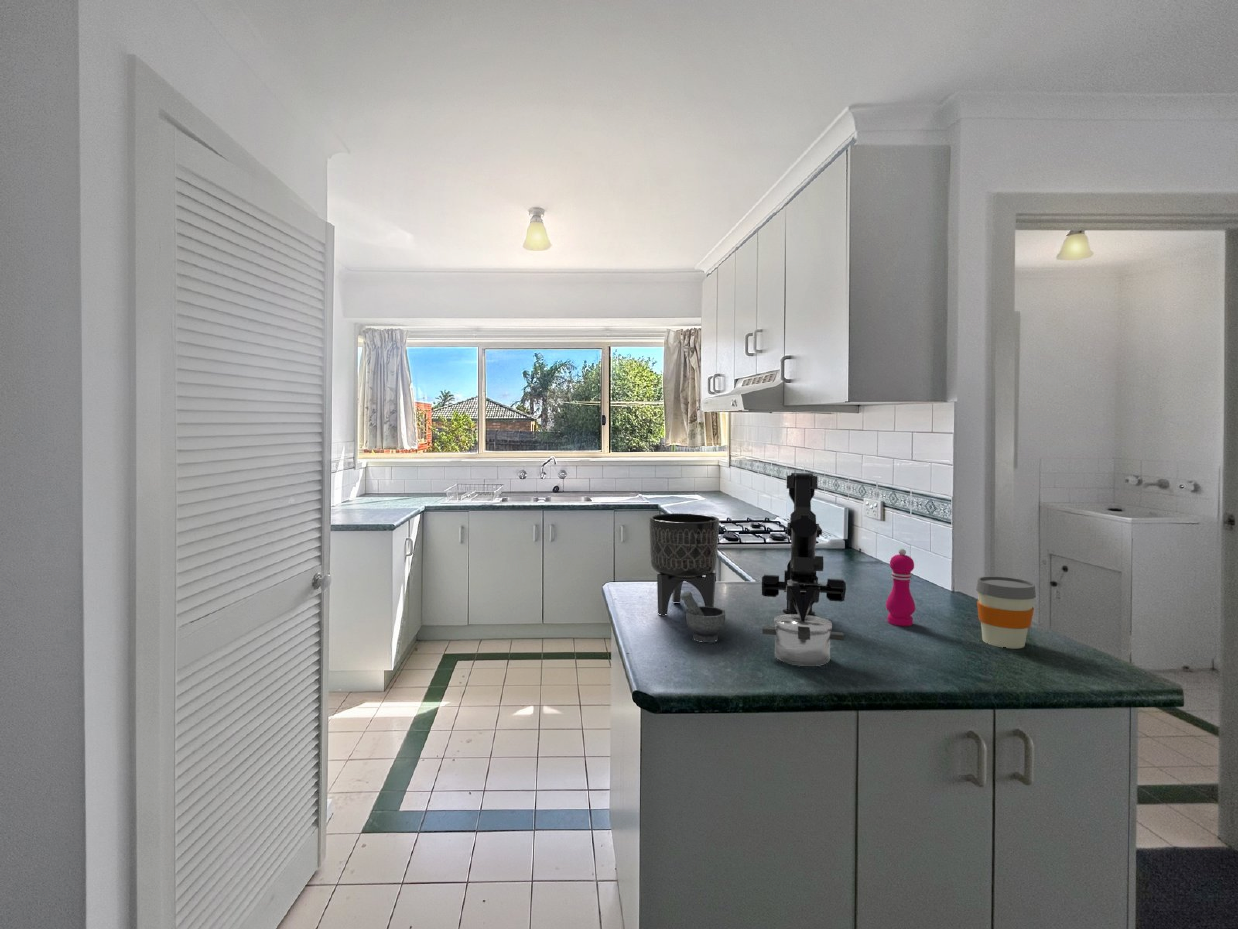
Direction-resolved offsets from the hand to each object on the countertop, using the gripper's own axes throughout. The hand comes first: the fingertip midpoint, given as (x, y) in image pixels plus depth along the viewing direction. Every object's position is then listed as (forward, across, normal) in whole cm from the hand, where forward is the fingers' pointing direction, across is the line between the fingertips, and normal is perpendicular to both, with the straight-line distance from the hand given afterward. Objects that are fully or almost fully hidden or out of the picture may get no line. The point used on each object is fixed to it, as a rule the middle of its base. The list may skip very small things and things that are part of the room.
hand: (802, 620), depth 150 cm
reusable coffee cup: (-11, +48, +24) cm, 55 cm away
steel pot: (+6, 0, +6) cm, 9 cm away
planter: (-16, -32, +28) cm, 45 cm away
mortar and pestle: (+1, -23, +11) cm, 26 cm away
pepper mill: (-19, +26, +31) cm, 45 cm away
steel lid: (+3, 0, -1) cm, 3 cm away
